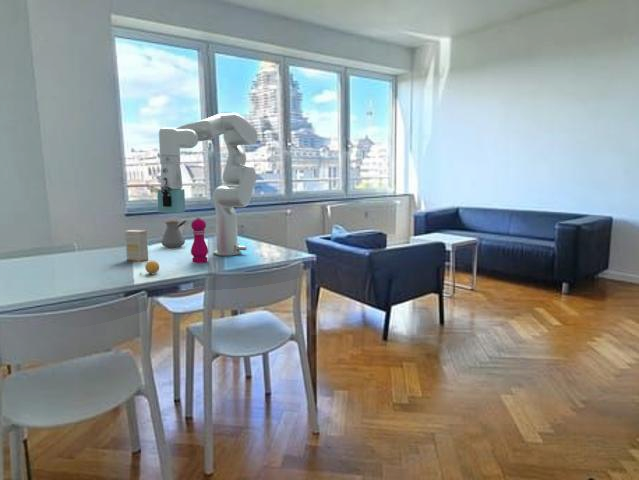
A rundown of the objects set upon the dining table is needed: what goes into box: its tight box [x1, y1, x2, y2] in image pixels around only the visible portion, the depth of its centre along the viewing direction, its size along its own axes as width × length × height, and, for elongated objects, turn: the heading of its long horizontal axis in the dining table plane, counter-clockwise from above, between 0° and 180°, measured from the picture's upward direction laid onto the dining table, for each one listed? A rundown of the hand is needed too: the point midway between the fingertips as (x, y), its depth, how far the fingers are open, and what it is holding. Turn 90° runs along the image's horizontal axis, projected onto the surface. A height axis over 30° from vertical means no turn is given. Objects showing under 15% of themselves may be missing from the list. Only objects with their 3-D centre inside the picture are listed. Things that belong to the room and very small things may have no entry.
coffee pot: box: [161, 220, 188, 249], centre depth 229 cm, size 21×12×15 cm, turn 42°
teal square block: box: [156, 188, 186, 214], centre depth 183 cm, size 8×8×9 cm
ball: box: [145, 260, 160, 275], centre depth 177 cm, size 5×5×5 cm
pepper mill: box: [190, 215, 209, 264], centre depth 197 cm, size 7×7×20 cm
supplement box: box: [124, 229, 149, 262], centre depth 201 cm, size 8×5×13 cm, turn 65°
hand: (171, 205), depth 183 cm, fingers closed on teal square block, 7 cm apart
